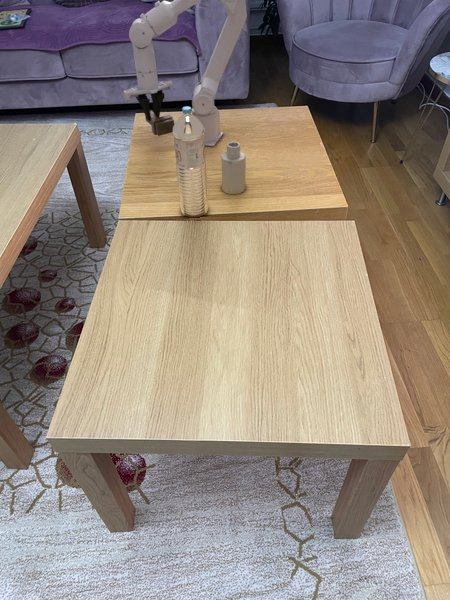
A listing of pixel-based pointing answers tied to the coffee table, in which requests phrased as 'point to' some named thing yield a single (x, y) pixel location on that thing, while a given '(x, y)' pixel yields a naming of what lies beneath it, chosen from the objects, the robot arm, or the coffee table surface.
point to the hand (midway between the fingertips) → (152, 118)
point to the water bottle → (191, 164)
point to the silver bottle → (233, 169)
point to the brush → (161, 124)
